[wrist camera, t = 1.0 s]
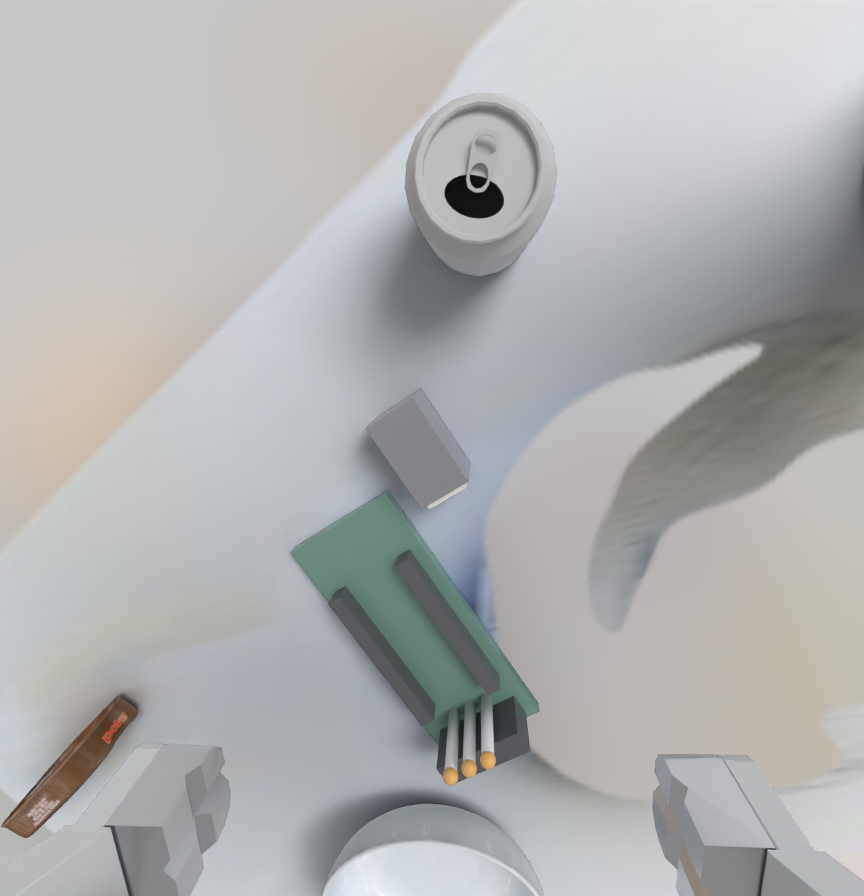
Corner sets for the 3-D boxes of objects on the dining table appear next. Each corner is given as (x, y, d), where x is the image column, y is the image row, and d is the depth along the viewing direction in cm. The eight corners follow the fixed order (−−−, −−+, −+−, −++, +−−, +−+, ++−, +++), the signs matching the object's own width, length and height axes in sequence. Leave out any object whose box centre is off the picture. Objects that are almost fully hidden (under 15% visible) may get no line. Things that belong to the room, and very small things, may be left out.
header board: (387, 490, 39) (366, 531, 32) (538, 702, 44) (550, 783, 36) (295, 547, 42) (253, 597, 34) (445, 744, 46) (439, 829, 38)
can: (415, 262, 35) (383, 235, 23) (440, 148, 33) (420, 56, 21) (515, 288, 35) (534, 274, 23) (547, 175, 32) (585, 97, 21)
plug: (421, 387, 37) (412, 397, 32) (472, 465, 38) (471, 486, 34) (379, 414, 38) (365, 428, 33) (431, 490, 39) (424, 513, 34)
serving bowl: (458, 949, 53) (455, 1039, 46) (302, 849, 51) (276, 928, 45) (586, 848, 48) (604, 933, 41) (417, 732, 46) (407, 802, 39)
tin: (134, 678, 47) (63, 752, 39) (159, 698, 48) (93, 776, 40) (57, 757, 51) (-22, 839, 43) (81, 775, 51) (7, 860, 43)
